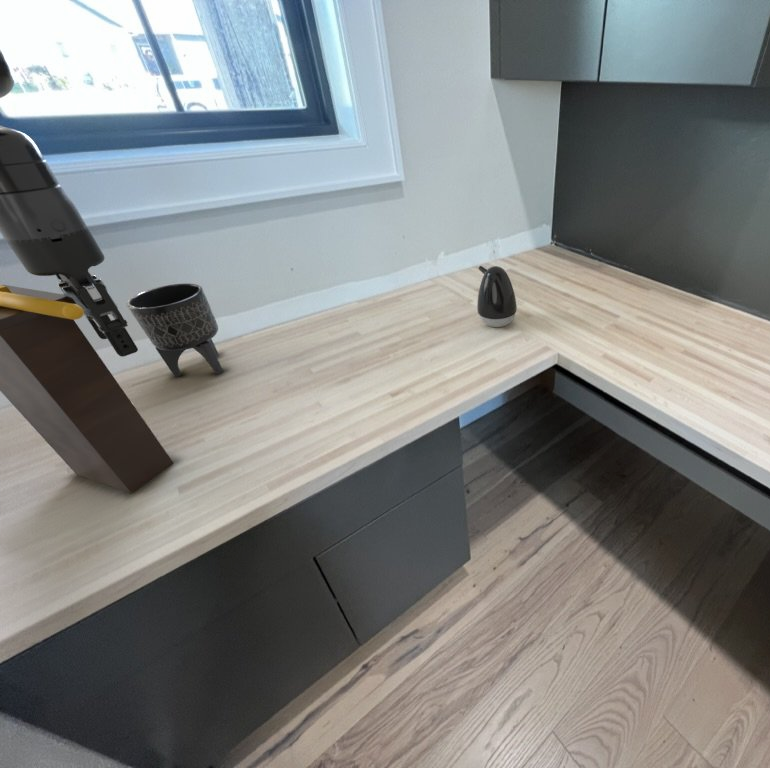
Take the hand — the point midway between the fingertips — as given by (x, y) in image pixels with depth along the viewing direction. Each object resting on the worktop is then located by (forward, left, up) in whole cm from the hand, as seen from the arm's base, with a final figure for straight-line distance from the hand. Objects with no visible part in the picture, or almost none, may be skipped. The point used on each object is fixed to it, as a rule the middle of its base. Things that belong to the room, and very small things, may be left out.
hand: (119, 344), depth 60 cm
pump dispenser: (+68, -18, -22) cm, 74 cm away
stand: (-8, +5, -22) cm, 24 cm away
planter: (+15, +27, -22) cm, 38 cm away
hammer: (-6, 0, +8) cm, 10 cm away
